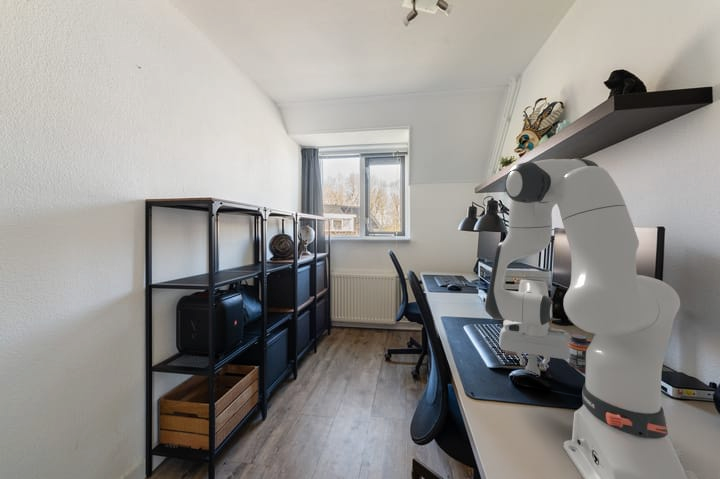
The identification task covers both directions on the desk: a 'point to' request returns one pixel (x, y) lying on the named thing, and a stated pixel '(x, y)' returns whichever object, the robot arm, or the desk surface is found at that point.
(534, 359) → the rook chess piece
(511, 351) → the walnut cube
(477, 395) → the desk surface
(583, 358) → the supplement bottle
